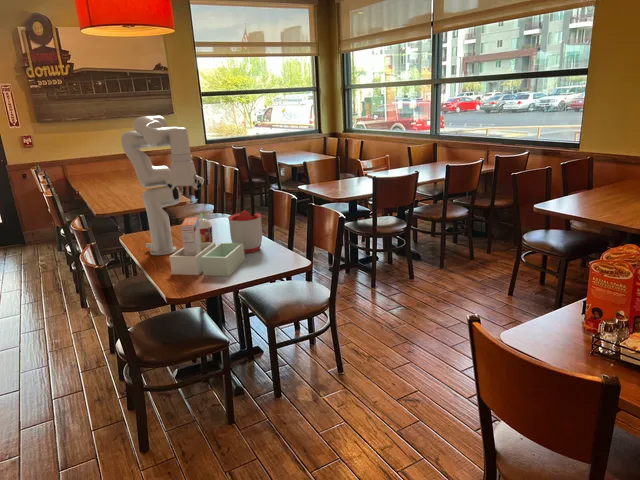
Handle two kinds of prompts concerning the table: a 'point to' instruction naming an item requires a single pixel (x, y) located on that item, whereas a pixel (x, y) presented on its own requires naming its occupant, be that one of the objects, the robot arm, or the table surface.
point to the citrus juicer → (246, 230)
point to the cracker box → (191, 236)
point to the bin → (223, 259)
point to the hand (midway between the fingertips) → (187, 198)
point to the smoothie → (205, 230)
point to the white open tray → (189, 261)
